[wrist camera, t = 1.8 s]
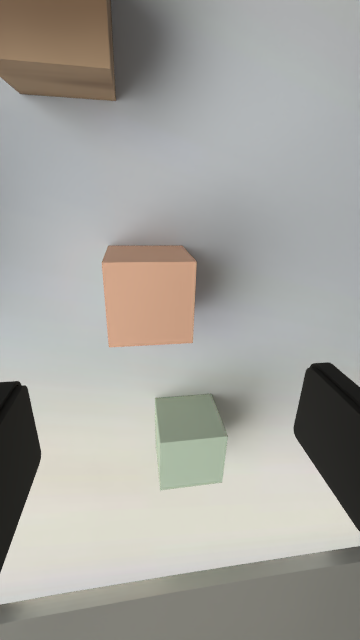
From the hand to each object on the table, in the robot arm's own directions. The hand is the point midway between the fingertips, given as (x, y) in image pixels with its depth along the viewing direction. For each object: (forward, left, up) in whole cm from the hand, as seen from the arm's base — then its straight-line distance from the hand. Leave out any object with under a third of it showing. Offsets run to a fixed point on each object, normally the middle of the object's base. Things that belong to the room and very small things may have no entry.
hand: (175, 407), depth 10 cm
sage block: (+12, +3, -13) cm, 18 cm away
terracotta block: (-1, 0, -13) cm, 13 cm away
